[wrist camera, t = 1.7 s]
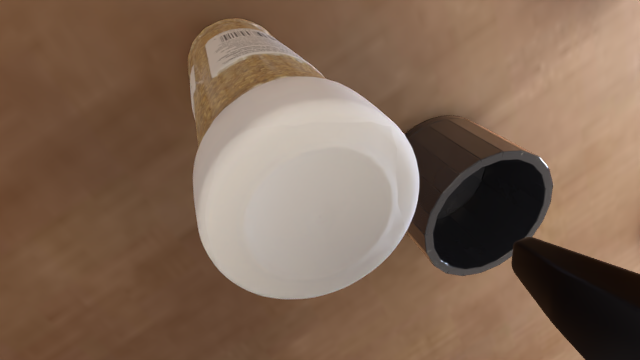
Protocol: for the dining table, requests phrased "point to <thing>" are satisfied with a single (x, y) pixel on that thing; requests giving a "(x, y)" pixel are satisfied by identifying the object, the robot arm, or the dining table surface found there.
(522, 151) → the ceramic cup
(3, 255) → the dining table surface
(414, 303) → the dining table surface
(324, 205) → the sprinkles bottle
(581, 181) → the dining table surface
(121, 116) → the dining table surface
